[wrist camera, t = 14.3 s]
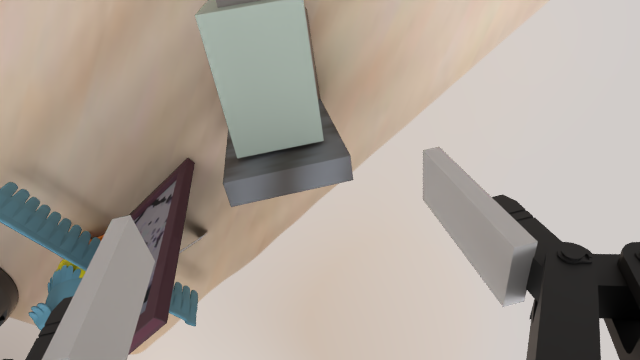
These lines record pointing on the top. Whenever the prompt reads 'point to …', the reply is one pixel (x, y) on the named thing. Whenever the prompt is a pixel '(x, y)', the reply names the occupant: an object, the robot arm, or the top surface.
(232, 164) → the grey bookend
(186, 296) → the blue toy animal
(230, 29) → the cabinet box
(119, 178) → the top surface
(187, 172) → the picture frame
